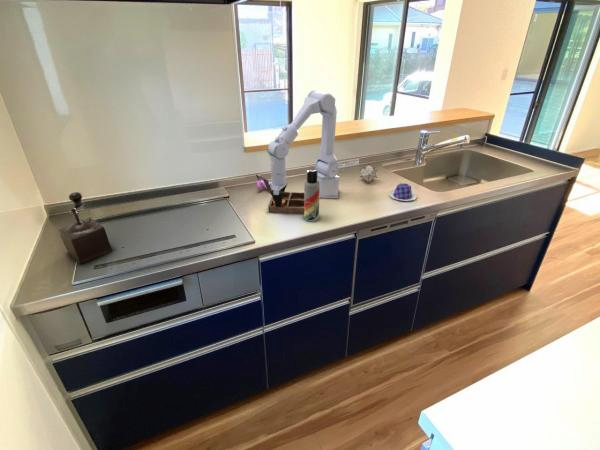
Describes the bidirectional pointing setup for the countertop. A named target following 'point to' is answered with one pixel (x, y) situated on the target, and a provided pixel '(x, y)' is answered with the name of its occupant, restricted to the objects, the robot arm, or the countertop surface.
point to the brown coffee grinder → (84, 235)
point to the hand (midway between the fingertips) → (279, 203)
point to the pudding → (403, 192)
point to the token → (282, 203)
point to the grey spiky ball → (368, 173)
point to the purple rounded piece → (261, 184)
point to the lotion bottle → (311, 196)
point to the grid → (289, 204)
